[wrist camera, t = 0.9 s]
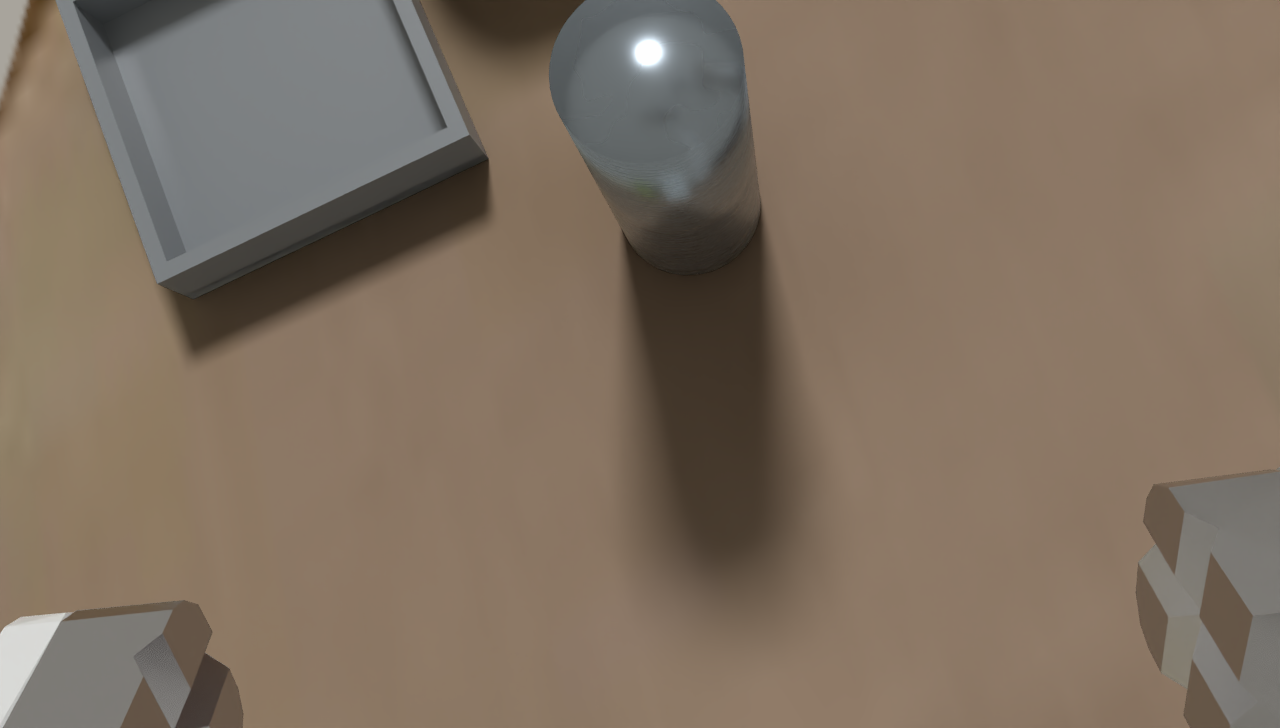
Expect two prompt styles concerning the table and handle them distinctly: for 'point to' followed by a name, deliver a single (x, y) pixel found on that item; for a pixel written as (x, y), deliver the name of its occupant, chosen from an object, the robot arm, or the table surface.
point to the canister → (663, 125)
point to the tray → (265, 121)
